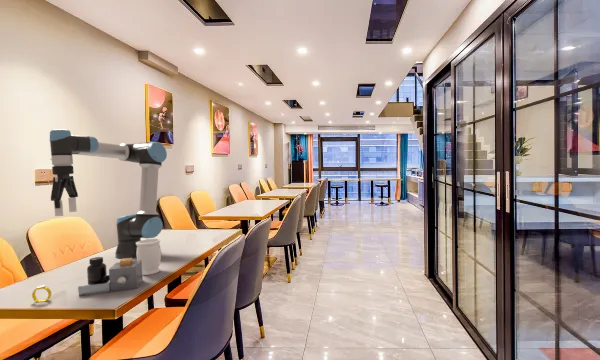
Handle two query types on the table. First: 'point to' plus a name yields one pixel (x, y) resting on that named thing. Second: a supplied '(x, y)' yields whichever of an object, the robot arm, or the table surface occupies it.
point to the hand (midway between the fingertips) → (66, 213)
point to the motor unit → (117, 278)
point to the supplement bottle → (96, 271)
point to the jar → (149, 255)
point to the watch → (41, 288)
